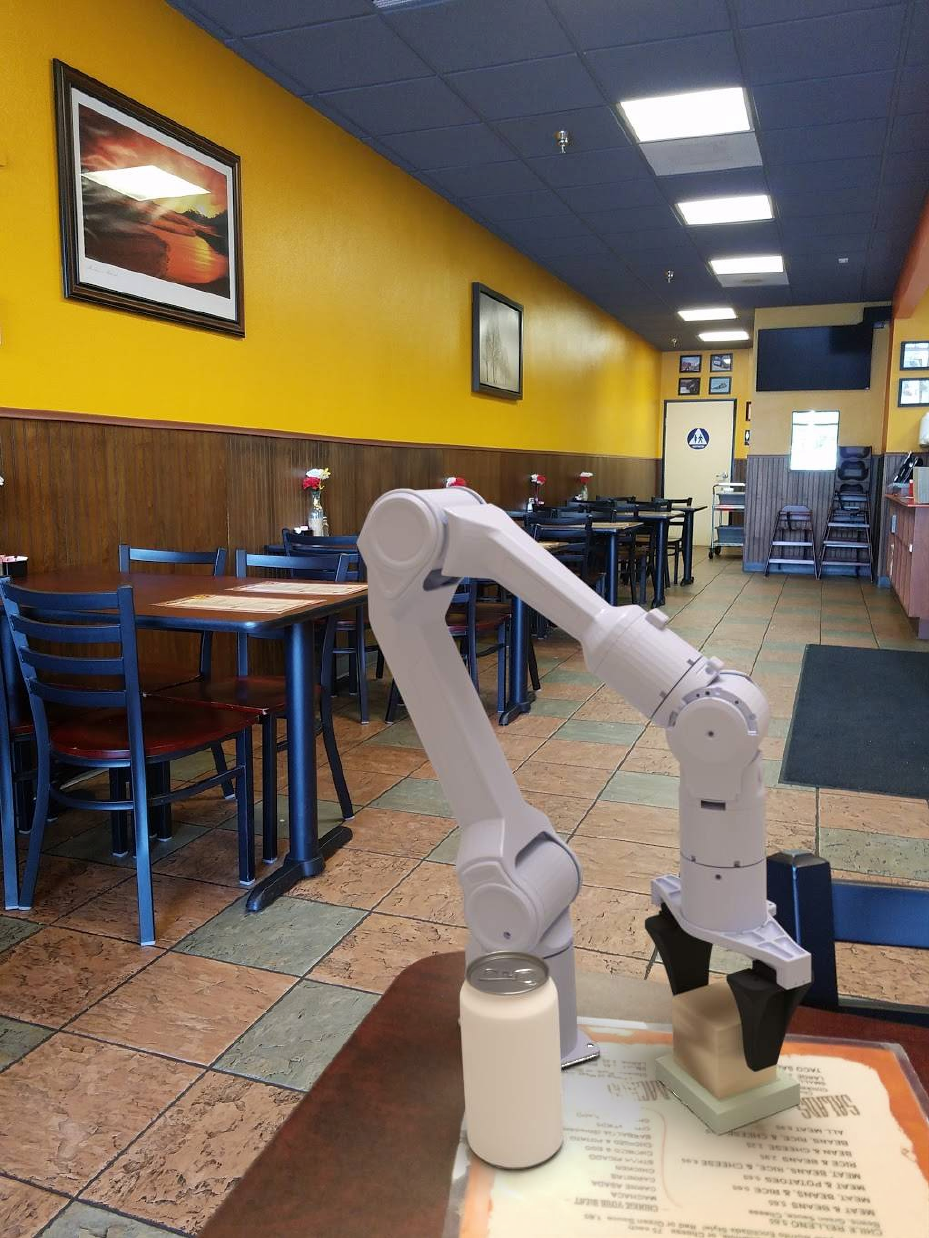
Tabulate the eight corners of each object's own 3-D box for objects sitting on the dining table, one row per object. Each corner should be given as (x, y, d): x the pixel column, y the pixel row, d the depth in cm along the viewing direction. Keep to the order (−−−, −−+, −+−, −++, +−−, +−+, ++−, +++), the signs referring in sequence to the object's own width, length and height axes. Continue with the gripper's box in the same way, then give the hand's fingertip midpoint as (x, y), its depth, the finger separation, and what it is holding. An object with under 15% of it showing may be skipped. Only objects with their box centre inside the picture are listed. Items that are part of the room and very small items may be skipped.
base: (656, 1077, 69) (655, 1058, 69) (732, 1050, 72) (732, 1031, 72) (718, 1135, 63) (717, 1113, 63) (800, 1103, 66) (799, 1082, 66)
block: (673, 1061, 69) (672, 996, 68) (729, 1041, 71) (728, 978, 70) (718, 1100, 64) (717, 1031, 63) (776, 1078, 66) (776, 1011, 65)
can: (558, 1178, 60) (551, 1000, 58) (458, 1168, 61) (448, 993, 60) (568, 1111, 66) (561, 949, 65) (477, 1104, 68) (468, 944, 66)
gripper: (848, 876, 60) (847, 1075, 62) (702, 810, 73) (705, 976, 75) (760, 901, 57) (762, 1108, 59) (625, 828, 71) (630, 999, 72)
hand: (725, 1036), depth 67 cm, fingers open, 7 cm apart
